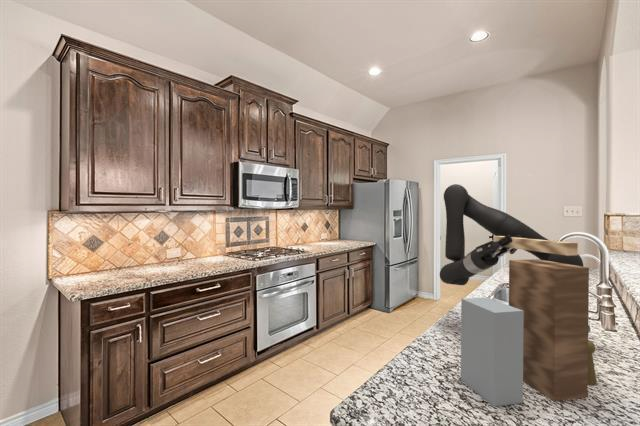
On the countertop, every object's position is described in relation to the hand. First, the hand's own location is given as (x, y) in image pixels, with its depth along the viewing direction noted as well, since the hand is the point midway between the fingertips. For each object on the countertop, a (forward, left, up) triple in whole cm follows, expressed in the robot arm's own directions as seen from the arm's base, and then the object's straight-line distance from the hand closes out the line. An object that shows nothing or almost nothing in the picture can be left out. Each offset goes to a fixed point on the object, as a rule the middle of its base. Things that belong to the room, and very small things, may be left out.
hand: (515, 237), depth 93 cm
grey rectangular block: (+11, +16, -38) cm, 43 cm away
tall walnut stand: (-4, +9, -38) cm, 39 cm away
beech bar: (-2, +5, -3) cm, 6 cm away
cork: (-15, +4, -38) cm, 41 cm away
